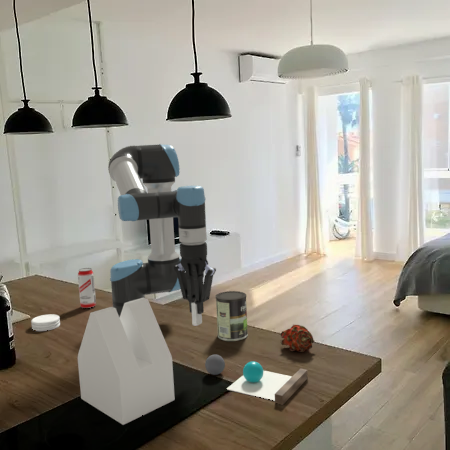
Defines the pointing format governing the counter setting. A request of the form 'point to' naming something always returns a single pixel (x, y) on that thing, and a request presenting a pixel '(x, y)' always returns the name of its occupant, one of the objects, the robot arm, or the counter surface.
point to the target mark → (261, 385)
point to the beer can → (86, 288)
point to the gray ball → (215, 364)
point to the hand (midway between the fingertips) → (197, 323)
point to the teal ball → (253, 372)
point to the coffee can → (231, 315)
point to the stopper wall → (291, 386)
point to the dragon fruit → (297, 338)
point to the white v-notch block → (125, 362)
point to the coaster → (45, 322)
